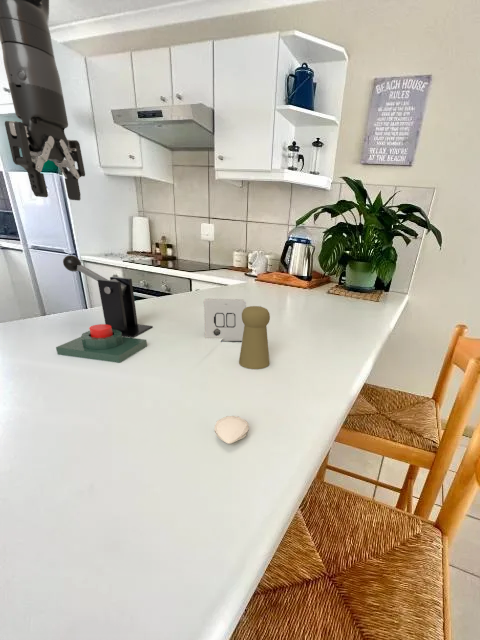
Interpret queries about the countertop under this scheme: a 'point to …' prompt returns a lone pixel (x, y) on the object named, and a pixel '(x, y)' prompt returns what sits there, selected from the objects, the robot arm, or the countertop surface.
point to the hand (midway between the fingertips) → (59, 198)
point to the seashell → (231, 429)
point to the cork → (255, 338)
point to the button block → (102, 347)
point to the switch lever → (85, 270)
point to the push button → (101, 331)
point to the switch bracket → (120, 307)
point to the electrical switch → (224, 319)
